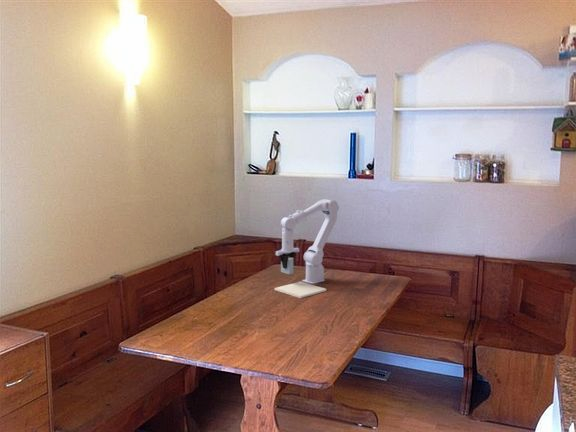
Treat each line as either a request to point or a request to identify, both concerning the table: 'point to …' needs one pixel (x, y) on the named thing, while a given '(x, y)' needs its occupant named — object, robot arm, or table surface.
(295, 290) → the tile
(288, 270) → the block
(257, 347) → the table surface
